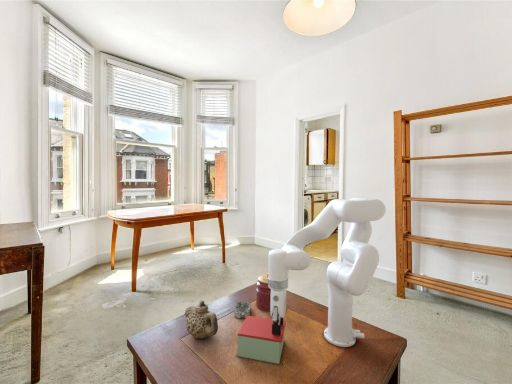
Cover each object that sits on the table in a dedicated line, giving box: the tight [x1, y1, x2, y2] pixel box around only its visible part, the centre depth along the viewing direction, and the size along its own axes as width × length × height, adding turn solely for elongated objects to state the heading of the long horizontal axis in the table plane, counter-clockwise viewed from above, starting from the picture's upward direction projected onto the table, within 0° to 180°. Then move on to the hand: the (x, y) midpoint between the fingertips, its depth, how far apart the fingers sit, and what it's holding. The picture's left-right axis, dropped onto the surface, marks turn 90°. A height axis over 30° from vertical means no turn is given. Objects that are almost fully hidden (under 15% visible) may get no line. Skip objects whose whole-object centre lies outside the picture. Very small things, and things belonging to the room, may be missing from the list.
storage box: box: [237, 333, 285, 365], centre depth 95 cm, size 16×13×8 cm
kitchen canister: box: [255, 271, 271, 312], centre depth 128 cm, size 13×13×18 cm
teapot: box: [184, 299, 219, 340], centre depth 102 cm, size 21×12×15 cm, turn 47°
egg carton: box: [234, 300, 251, 319], centre depth 121 cm, size 11×8×4 cm
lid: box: [237, 314, 287, 343], centre depth 94 cm, size 16×13×5 cm
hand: (277, 328), depth 93 cm, fingers closed on lid, 6 cm apart
